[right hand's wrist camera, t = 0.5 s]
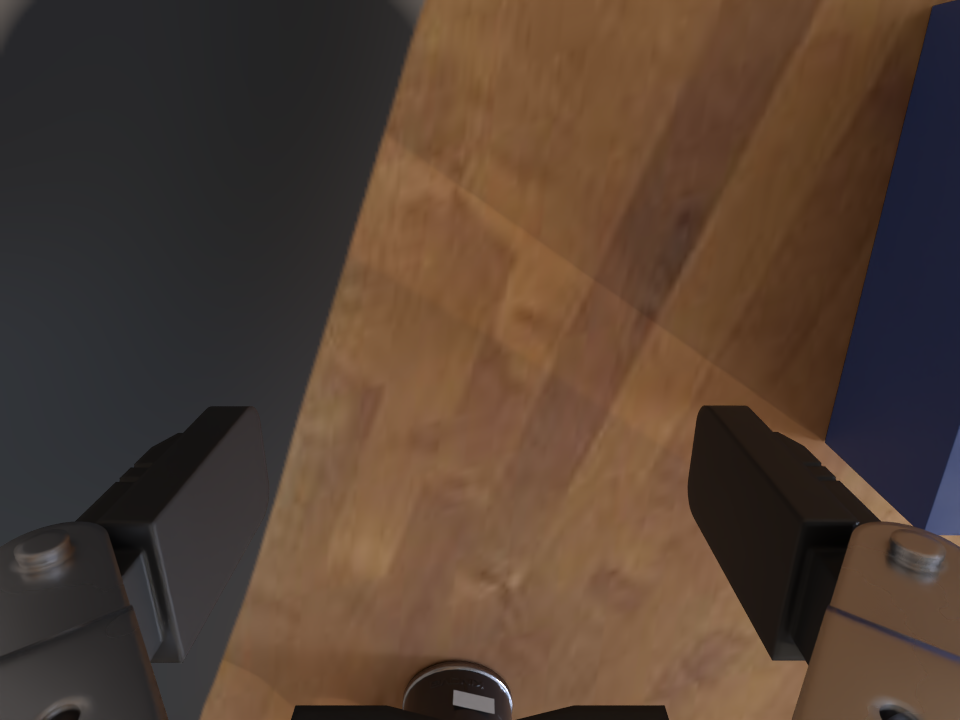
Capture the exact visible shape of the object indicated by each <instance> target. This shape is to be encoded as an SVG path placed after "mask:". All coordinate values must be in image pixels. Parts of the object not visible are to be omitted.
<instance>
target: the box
mask: <svg viewBox="0 0 960 720" xmlns="http://www.w3.org/2000/svg"><path fill="white" fill-rule="evenodd" d="M825 443H826V444H827V445H828V446H829V447H830V448H831V449H832V450H833V451H834V452H835V453H837V454H838V455H839V456H840V457H841V458H842V459H843V460H844V461H845V462H846V463H847V464H848V465H849V466H850V467H851V468H852V469H853V470H855V471H856V472H857V473H858V474H859V475H860V476H861V477H862V478H863V479H864V480H865V481H866V482H867V483H868V484H869V485H870V486H871V487H873V488H874V489H875V490H876V491H877V492H878V493H879V494H880V495H881V496H882V497H883V498H884V499H885V500H886V501H887V502H888V503H889V504H891V505H892V506H893V507H894V508H895V509H896V510H897V511H898V512H899V513H900V514H901V515H902V516H903V517H904V518H905V519H906V520H907V521H909V522H910V523H911V524H912V525H913V526H914V527H917V528H920V529H923V530H926V531H929V532H931V533H934V534H936V535H960V0H955V1H951V2H947V3H943V4H939V5H935V6H933V7H932V11H931V15H930V19H929V23H928V27H927V31H926V35H925V39H924V44H923V48H922V52H921V56H920V60H919V64H918V68H917V72H916V76H915V80H914V84H913V88H912V92H911V96H910V100H909V104H908V108H907V112H906V116H905V120H904V124H903V129H902V133H901V137H900V141H899V145H898V149H897V153H896V157H895V161H894V165H893V169H892V173H891V177H890V181H889V185H888V189H887V193H886V197H885V201H884V205H883V209H882V214H881V218H880V222H879V226H878V230H877V234H876V238H875V242H874V246H873V250H872V254H871V258H870V262H869V266H868V270H867V274H866V278H865V282H864V286H863V290H862V294H861V298H860V303H859V307H858V311H857V315H856V319H855V323H854V327H853V331H852V335H851V339H850V343H849V347H848V351H847V355H846V359H845V363H844V367H843V371H842V375H841V379H840V383H839V388H838V392H837V396H836V400H835V404H834V408H833V412H832V416H831V420H830V424H829V428H828V432H827V436H826V440H825Z"/></svg>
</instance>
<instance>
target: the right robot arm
mask: <svg viewBox="0 0 960 720" xmlns="http://www.w3.org/2000/svg"><path fill="white" fill-rule="evenodd" d="M268 499H269V480H268V473H267V466H266V459H265V452H264V445H263V438H262V431H261V424H260V418H259V415H258V412H257V410H256V409H255V408H254V407H252V406H251V407H250V406H249V407H246V406H242V407H239V406H238V407H237V406H236V407H234V406H232V407H231V406H229V407H228V406H227V407H226V406H225V407H223V406H220V407H219V406H217V407H216V406H212V407H209V408H207V409H206V410H205V411H204V412H203V413H202V414H201V415H200V416H199V417H198V418H197V419H196V420H195V421H194V423H192V424H191V425H190V427H189V428H188V429H187V430H186V431H185V432H184V433H177V434H176V435H174V436H172V437H170V438H168V439H166V440H165V441H163V442H161V443H159V444H157V445H155V446H153V447H152V448H151V449H150V450H148V451H147V452H146V453H145V454H144V455H143V456H142V457H141V458H140V459H139V460H138V461H137V462H136V463H135V464H134V468H130V469H129V470H128V471H127V472H126V473H125V474H124V475H123V476H122V477H121V478H120V482H115V483H114V484H113V485H112V486H111V487H110V488H109V489H108V490H107V491H106V492H105V493H104V494H103V495H102V496H101V497H100V498H99V499H98V500H97V501H96V502H95V503H94V504H93V505H92V506H91V507H90V508H89V509H88V510H87V511H86V512H85V513H83V514H82V515H81V516H80V517H79V518H78V519H77V520H76V521H75V522H66V523H60V524H55V525H50V526H47V527H43V528H40V529H37V530H34V531H31V532H29V533H26V534H24V535H21V536H19V537H17V538H15V539H13V540H11V541H9V542H8V543H6V544H4V545H3V546H1V547H0V720H168V717H167V714H166V711H165V708H164V704H163V701H162V698H161V695H160V692H159V688H158V685H157V682H156V679H155V676H154V672H153V669H152V666H151V663H183V661H184V660H185V658H186V656H187V654H188V652H189V651H190V649H191V647H192V645H193V643H194V642H195V640H196V638H197V636H198V635H199V633H200V631H201V629H202V627H203V626H204V624H205V622H206V620H207V618H208V617H209V615H210V613H211V611H212V609H213V608H214V606H215V604H216V602H217V600H218V599H219V597H220V595H221V593H222V591H223V590H224V588H225V586H226V584H227V582H228V581H229V579H230V577H231V575H232V574H233V572H234V570H235V568H236V566H237V564H238V563H239V561H240V559H241V557H242V556H243V554H244V552H245V550H246V548H247V547H248V545H249V543H250V541H251V539H252V538H253V536H254V534H255V532H256V530H257V529H258V527H259V525H260V523H261V521H262V520H263V518H264V516H265V513H266V510H267V505H268ZM688 499H689V505H690V509H691V512H692V515H693V517H694V519H695V521H696V523H697V524H698V526H699V528H700V530H701V532H702V534H703V535H704V537H705V539H706V541H707V543H708V544H709V546H710V548H711V550H712V552H713V554H714V555H715V557H716V559H717V561H718V563H719V564H720V566H721V568H722V570H723V572H724V574H725V575H726V577H727V579H728V581H729V583H730V584H731V586H732V588H733V590H734V592H735V594H736V595H737V597H738V599H739V601H740V603H741V604H742V606H743V608H744V610H745V612H746V614H747V615H748V617H749V619H750V621H751V623H752V624H753V626H754V628H755V630H756V632H757V633H758V635H759V637H760V639H761V641H762V643H763V644H764V646H765V648H766V650H767V652H768V653H769V655H770V657H771V659H772V660H805V661H806V662H807V664H808V665H809V666H808V669H807V672H806V676H805V679H804V682H803V685H802V688H801V692H800V695H799V698H798V701H797V704H796V708H795V711H794V714H793V717H792V720H960V547H959V546H957V545H956V544H954V543H952V542H951V541H949V540H947V539H945V538H943V537H941V536H939V535H936V534H934V533H931V532H929V531H926V530H923V529H920V528H917V527H913V526H910V525H905V524H900V523H894V522H881V521H880V520H879V519H878V518H877V517H876V516H875V515H874V514H873V513H872V512H871V511H870V510H869V509H868V508H867V507H866V506H865V505H864V504H863V503H862V502H861V501H860V500H859V499H858V498H857V497H856V496H855V495H854V494H853V493H852V492H850V491H849V490H848V489H847V488H846V487H845V486H844V485H843V484H842V483H841V482H840V481H836V477H835V476H834V475H833V474H832V473H831V472H830V471H829V470H828V469H827V468H826V467H825V466H821V462H820V461H819V460H818V459H817V458H816V457H815V456H814V455H813V454H812V453H811V452H810V451H809V450H808V449H807V448H805V447H804V446H803V445H801V444H799V443H797V442H795V441H794V440H792V439H790V438H788V437H786V436H784V435H782V434H781V433H779V432H772V431H771V430H770V429H769V428H768V426H767V425H766V424H765V423H764V422H763V421H762V420H761V419H760V418H759V417H758V416H757V415H756V414H755V413H754V412H753V411H752V410H751V409H750V408H749V407H748V406H702V407H701V409H700V410H699V413H698V416H697V421H696V428H695V435H694V442H693V449H692V456H691V464H690V471H689V478H688ZM291 720H512V697H511V692H510V690H509V687H508V686H507V684H506V683H505V681H504V680H503V679H502V678H501V677H500V676H499V675H498V674H496V673H495V672H494V671H492V670H490V669H488V668H486V667H484V666H481V665H478V664H475V663H470V662H462V661H452V662H444V663H439V664H436V665H433V666H430V667H428V668H426V669H424V670H422V671H421V672H419V673H418V674H417V675H416V676H414V678H413V679H412V680H411V681H410V682H409V684H408V685H407V687H406V690H405V693H404V699H403V710H402V709H398V708H394V707H390V706H295V709H294V712H293V715H292V718H291ZM517 720H669V718H668V715H667V712H666V709H665V706H570V707H566V708H562V709H558V710H554V711H550V712H546V713H542V714H537V715H533V716H529V717H525V718H521V719H517Z"/></svg>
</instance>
